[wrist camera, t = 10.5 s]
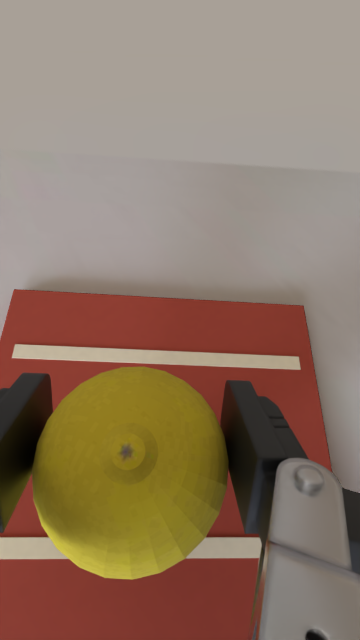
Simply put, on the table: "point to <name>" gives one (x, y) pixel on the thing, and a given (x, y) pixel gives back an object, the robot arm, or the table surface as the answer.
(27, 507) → the pot holder
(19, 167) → the table surface
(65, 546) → the lemon
